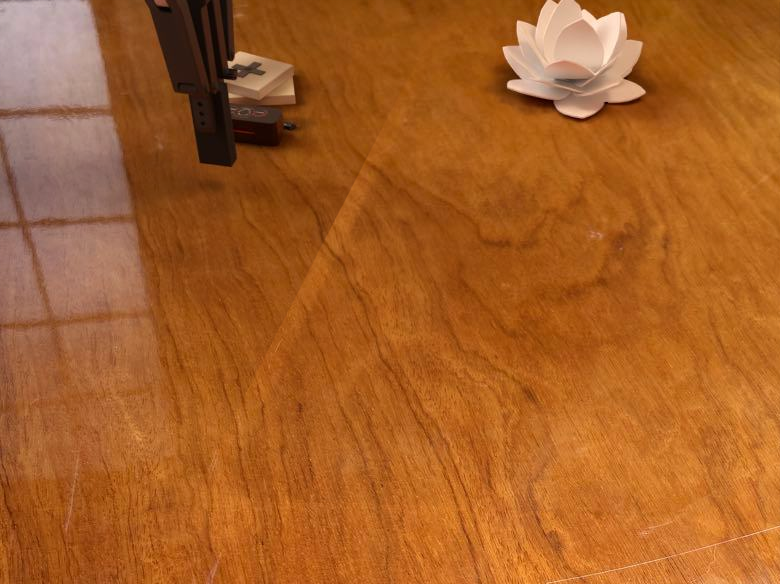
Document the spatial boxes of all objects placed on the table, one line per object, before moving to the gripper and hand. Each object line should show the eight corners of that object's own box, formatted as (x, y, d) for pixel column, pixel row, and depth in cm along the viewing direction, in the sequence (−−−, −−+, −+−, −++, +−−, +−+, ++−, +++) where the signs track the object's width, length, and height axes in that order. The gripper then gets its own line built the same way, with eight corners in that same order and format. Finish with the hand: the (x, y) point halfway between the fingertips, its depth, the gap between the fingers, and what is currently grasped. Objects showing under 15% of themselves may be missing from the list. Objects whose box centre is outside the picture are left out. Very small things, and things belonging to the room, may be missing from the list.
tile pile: (202, 114, 109) (196, 82, 107) (229, 78, 114) (224, 46, 112) (290, 125, 108) (286, 93, 106) (313, 88, 113) (310, 57, 111)
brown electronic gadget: (287, 159, 104) (283, 125, 101) (210, 149, 104) (204, 115, 102) (302, 134, 107) (299, 101, 105) (227, 125, 108) (222, 91, 105)
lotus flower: (640, 54, 122) (654, -28, 115) (644, 140, 113) (659, 57, 106) (503, 42, 121) (508, -42, 114) (496, 127, 112) (501, 43, 105)
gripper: (190, -120, 75) (237, 207, 92) (253, -179, 84) (285, 129, 101) (77, -133, 76) (145, 194, 93) (152, -190, 84) (201, 118, 102)
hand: (218, 160), depth 97 cm, fingers closed
